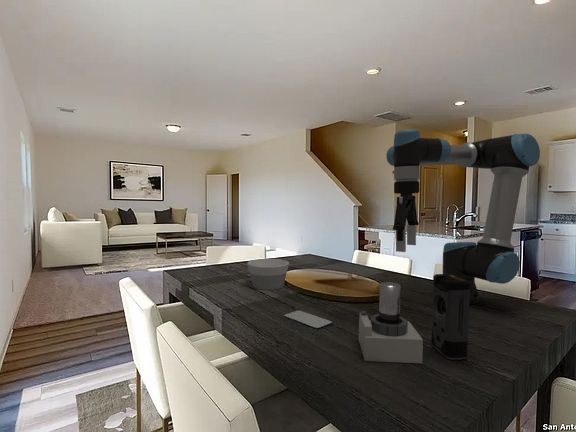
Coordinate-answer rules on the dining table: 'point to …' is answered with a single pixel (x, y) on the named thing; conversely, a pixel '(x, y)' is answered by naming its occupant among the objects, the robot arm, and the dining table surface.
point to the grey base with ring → (389, 341)
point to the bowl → (268, 273)
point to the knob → (389, 303)
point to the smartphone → (308, 319)
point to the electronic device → (450, 316)
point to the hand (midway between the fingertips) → (406, 248)
